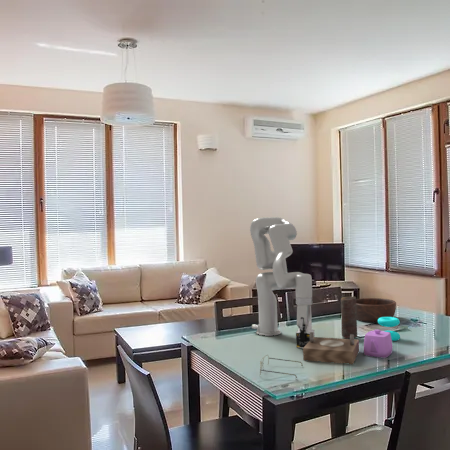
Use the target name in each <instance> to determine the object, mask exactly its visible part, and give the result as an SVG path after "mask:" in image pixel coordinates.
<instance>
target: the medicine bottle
mask: <svg viewBox="0 0 450 450" xmlns="http://www.w3.org/2000/svg"><path fill="white" fill-rule="evenodd" d="M312 323H313V321H312V320H311V321H309V324H308V326H307V327H306V333H307V342H300V325H299V327H298V326H297V327H298V330H297V331H296V332H295V346H296V348H299V349H303V348H304V347H305V345H306V344H307V343H308V342H309V341H310V332H313V337H316V336H315V329H313V326H312V325H313V324H312ZM303 326H305V325H303ZM304 330H305V328H304Z"/></svg>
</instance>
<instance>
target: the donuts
mask: <svg viewBox="0 0 450 450" xmlns="http://www.w3.org/2000/svg"><path fill="white" fill-rule="evenodd" d="M377 324H378V325H380V326H381V327H385V328H394V327H397V326H399V325H400V324H401V322H400V319H399V318H397V317H395V316H394V317H380V318H379V319H378V322H377ZM384 331H385V332H390V334H391V339H392V342H396V341H399V340H400V339H401V335H400V333H399V332H398V331H394V330H390V329H389V330H384Z"/></svg>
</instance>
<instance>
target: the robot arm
mask: <svg viewBox="0 0 450 450" xmlns="http://www.w3.org/2000/svg"><path fill="white" fill-rule="evenodd" d="M297 232H298V231H297V229H296V226H295V225H294V224H293V223H291V222H290V221H287V220H286V219H284V218H282V217H278V216H277V217H257V218H255V219H253V220H252V221H251V223H250V226H249V233H250V236H251V239H252V243H253V247H254V248H253V249H254V255H255V263H256V267H257V269H259V270H263V271H265V270H268V271H267V272H266V271H265V272H261V273H258V274H257V275H256V277H255V286H256V290H257V291H256V292H257V303H258V324H251V329H253V330H256V333H255V334H257V335H258V334H259V335H258V336H262V335H265V336H264V337H270V336H272V337H274V336H278V335H280V334H281V333H282V332H281V330H280V329H279V328H278V308H277V307H278V303H277V300H278V299H277V297H276V295H275V294H274V292H273V291H276V290H279V291H280V290H290V289H295V305H297V307H296V326H297V327H299V325H300V342H307V333H306V327H307V326H308V324H309V321H311V322H312V305H313V279H312V275H311V274H309V273H303V272H300V271H293V272H288V268H287V267H288V266H287V261H286V260H287V258H288V257H290V256H291V255H292V254H293V252H294V251H293V248H292V247H293V246H292V245H291V242H290V241H293V240H295V239H296V238H297V235H298V233H297ZM266 235H268V236H269V238H268V237H267V236H266ZM269 239H270V240H269ZM271 245H272V247H273V250H272V249H271V248H272V247H271ZM269 270H272V271H269ZM303 325H305V326H303ZM304 328H305V330H304ZM273 335H274V336H273Z"/></svg>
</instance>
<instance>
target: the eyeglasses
mask: <svg viewBox="0 0 450 450" xmlns="http://www.w3.org/2000/svg"><path fill="white" fill-rule="evenodd" d="M266 356H267V358H268V362H267V365H269V364H270V359H271V360H278V361H286V362H294V363H300V364H301V365H300V366H304V365H303V363H302V362H301V361H297V360H290V359H281V358H274V357H270V356H269V355H268V354H266V355H265V356H263V357H262V358H261V360H262V361H259V362H260V363H259V365H260V366H259V367H260V369H259V376H260V375H262V374H261V373H262V372H266V373H268V372H269V373H275V374H281V375H282V374H283V375H289V376H295V379H296V378H297V379H298V377H297V375H296V374H295V373H288V372H280V371H271V370H265V369H263V367H264V362H263V361H264V359H265V357H266Z"/></svg>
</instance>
